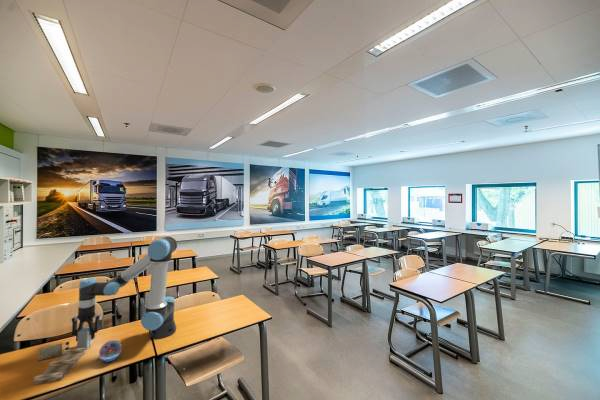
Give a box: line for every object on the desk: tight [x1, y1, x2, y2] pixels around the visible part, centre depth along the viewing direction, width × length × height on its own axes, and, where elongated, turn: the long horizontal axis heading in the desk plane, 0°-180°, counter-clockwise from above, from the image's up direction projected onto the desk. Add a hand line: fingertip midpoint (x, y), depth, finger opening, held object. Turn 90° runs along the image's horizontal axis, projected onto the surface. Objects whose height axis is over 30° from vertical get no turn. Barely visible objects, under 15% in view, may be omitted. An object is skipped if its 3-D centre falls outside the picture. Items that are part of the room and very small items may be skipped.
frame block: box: [76, 325, 91, 351], centre depth 145 cm, size 5×7×11 cm
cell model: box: [98, 339, 123, 363], centre depth 134 cm, size 10×12×10 cm
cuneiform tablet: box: [38, 341, 70, 361], centre depth 136 cm, size 7×4×12 cm
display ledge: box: [33, 348, 86, 385], centre depth 127 cm, size 10×22×3 cm, turn 18°
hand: (85, 345), depth 145 cm, fingers closed on frame block, 5 cm apart
